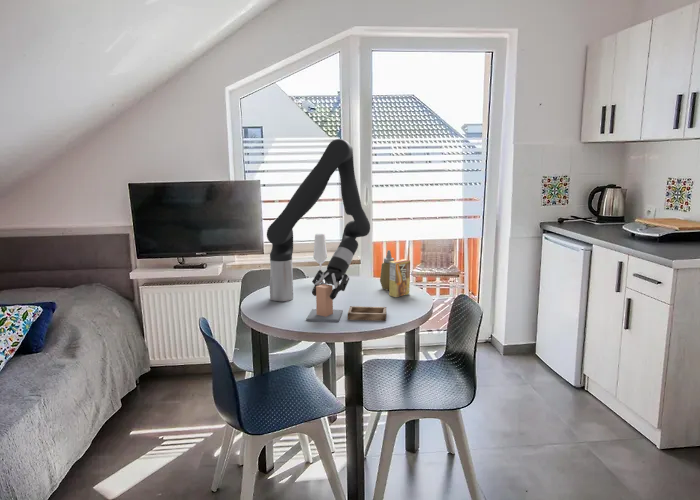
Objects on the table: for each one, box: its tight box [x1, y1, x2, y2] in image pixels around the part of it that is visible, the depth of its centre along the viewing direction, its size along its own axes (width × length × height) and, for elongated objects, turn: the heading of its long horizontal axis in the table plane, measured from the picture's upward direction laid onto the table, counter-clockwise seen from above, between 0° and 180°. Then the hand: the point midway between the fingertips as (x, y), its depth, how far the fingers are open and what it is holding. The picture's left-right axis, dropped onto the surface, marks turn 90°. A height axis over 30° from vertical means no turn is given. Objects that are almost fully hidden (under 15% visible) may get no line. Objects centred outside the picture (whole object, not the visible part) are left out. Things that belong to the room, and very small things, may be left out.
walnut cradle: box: [347, 305, 387, 322], centre depth 177 cm, size 14×9×2 cm, turn 84°
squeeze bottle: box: [379, 249, 395, 291], centre depth 215 cm, size 8×8×18 cm
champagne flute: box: [313, 233, 328, 284], centre depth 225 cm, size 7×7×24 cm
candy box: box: [388, 258, 411, 298], centre depth 205 cm, size 9×4×15 cm, turn 129°
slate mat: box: [305, 308, 343, 323], centre depth 177 cm, size 12×12×1 cm
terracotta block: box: [315, 284, 334, 317], centre depth 176 cm, size 4×4×11 cm
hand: (322, 296), depth 175 cm, fingers open, 8 cm apart
